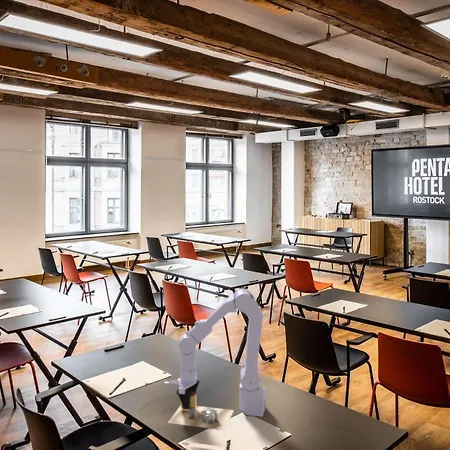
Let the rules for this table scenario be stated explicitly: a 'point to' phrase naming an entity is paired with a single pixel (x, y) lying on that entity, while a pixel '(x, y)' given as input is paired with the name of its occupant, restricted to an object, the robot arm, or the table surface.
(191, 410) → the pin
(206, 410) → the sun gear
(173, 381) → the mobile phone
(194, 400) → the octagonal wooden pipe
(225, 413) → the plate
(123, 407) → the table surface
